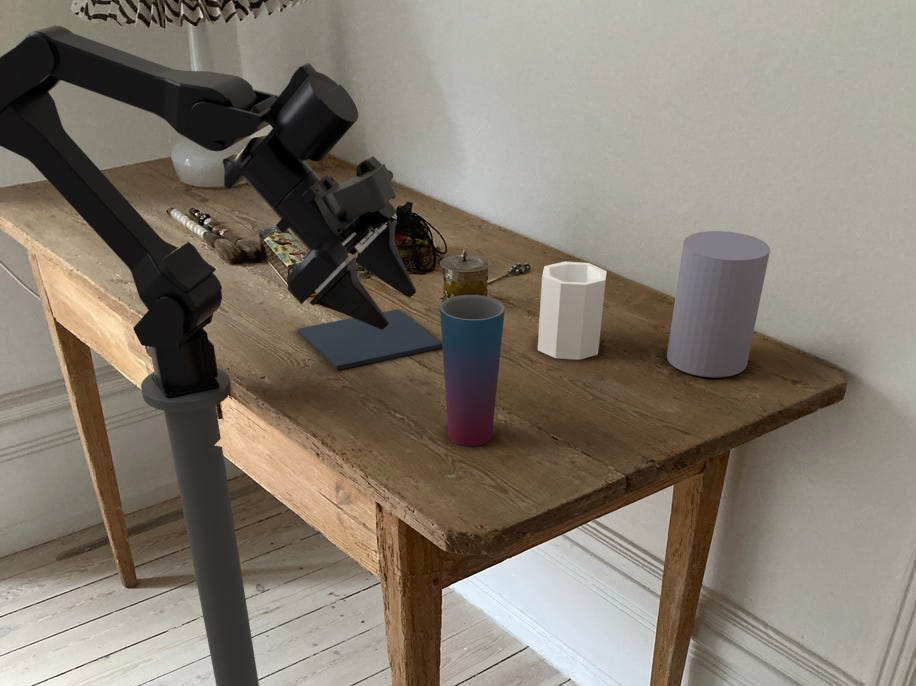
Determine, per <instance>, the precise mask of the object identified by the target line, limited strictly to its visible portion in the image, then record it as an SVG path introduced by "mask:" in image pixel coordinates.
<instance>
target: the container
mask: <svg viewBox="0 0 916 686" xmlns="http://www.w3.org/2000/svg"><path fill="white" fill-rule="evenodd" d="M770 252H771V247H770V246H769V245H768V243H767V242H765V241H764V240H762V239H760V238H759V237H755V236H752V235H749V234H744V233H739V232H736V231H735V232H734V231H726V230H725V231H723V230H709V231H708V230H707V231H699V232H695V233H691V234H690V235H688V236H686V237H685V238H684V240H683V244H682V250H681V256H680V264H679V271H678V277H677V284H676V292H675V298H674V306H673V312H672V319H671V325H670V331H669V339H668V344H667V345H668V346H667V351H666V352H667V353H666V359H667V362H669V364H670V365H671V366H672V367H674V368H675V369H678V370H679V371H681V372H683V373H684V374H688V375H690V376H695V377H699V378H706V379H724V378H730V377H733V376H736V375H738V374H740V373H742V372H743V371H744V370H746V369H747V366H748V362H749V358H750V357H749V356H750V352H751V347H752V344H753V343H752V342H753V337H754V332H755V328H756V322H757V319H758V318H757V317H758V313H759V306H760V303H761V297H762V293H763V287H764V283H765V278H766V274H767V269H768V263H769V257H770Z"/></svg>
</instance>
